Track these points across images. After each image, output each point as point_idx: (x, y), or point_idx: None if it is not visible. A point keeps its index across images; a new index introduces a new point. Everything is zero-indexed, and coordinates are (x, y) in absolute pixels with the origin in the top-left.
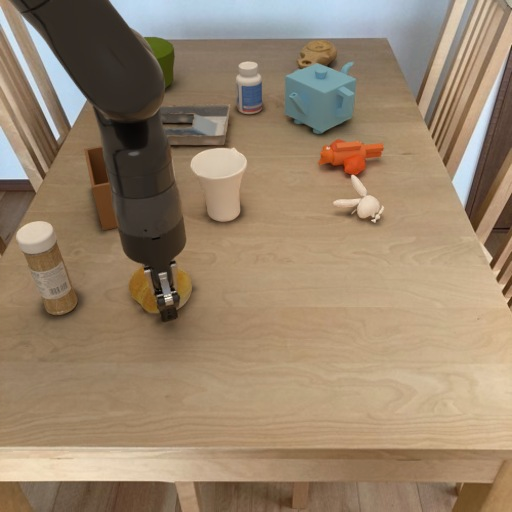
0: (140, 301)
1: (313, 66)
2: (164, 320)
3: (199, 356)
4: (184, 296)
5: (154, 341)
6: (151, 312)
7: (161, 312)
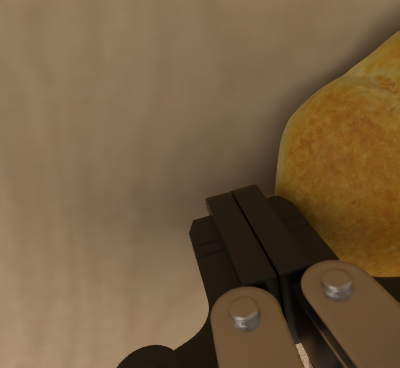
0: (369, 69)
1: None
2: (208, 209)
3: (49, 307)
4: None
5: (124, 144)
6: (285, 129)
7: (221, 239)
